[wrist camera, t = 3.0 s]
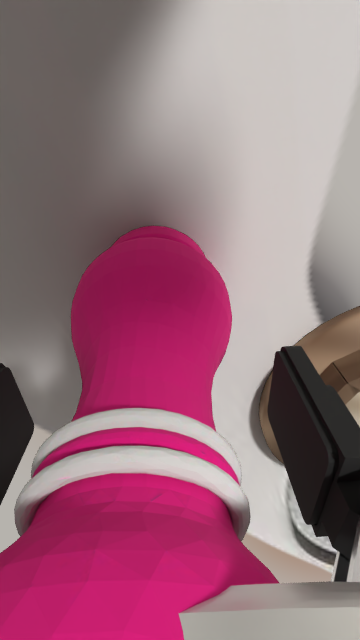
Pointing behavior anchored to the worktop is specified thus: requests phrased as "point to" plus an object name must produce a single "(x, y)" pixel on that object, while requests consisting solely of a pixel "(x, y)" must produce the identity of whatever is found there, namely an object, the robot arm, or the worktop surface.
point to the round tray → (327, 366)
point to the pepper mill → (134, 460)
